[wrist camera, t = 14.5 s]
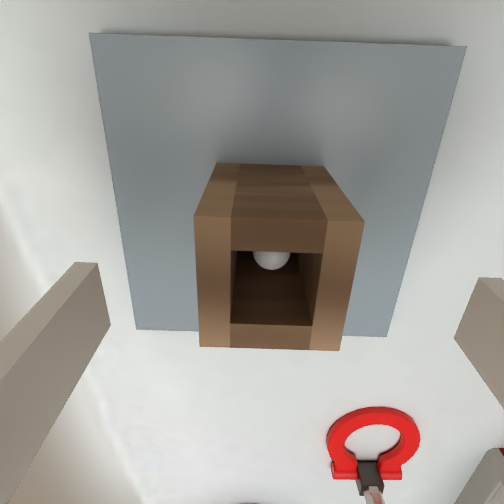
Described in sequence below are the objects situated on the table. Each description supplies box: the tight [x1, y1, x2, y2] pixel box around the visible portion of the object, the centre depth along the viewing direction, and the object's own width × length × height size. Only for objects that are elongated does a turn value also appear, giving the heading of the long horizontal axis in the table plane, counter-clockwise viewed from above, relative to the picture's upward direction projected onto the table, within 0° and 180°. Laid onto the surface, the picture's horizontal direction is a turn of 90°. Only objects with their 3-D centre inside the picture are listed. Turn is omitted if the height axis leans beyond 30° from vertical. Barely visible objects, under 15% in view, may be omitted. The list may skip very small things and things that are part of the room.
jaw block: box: [193, 163, 365, 351], centre depth 17 cm, size 6×6×8 cm
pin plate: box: [89, 33, 467, 337], centre depth 19 cm, size 18×18×7 cm
